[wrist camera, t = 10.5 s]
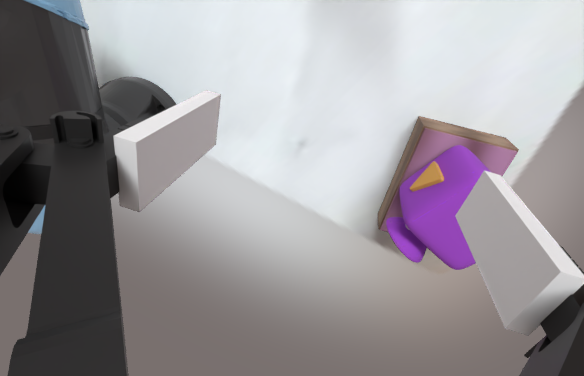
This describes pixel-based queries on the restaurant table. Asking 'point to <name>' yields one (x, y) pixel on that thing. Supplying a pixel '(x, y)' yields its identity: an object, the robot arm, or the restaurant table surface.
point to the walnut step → (433, 142)
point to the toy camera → (437, 208)
